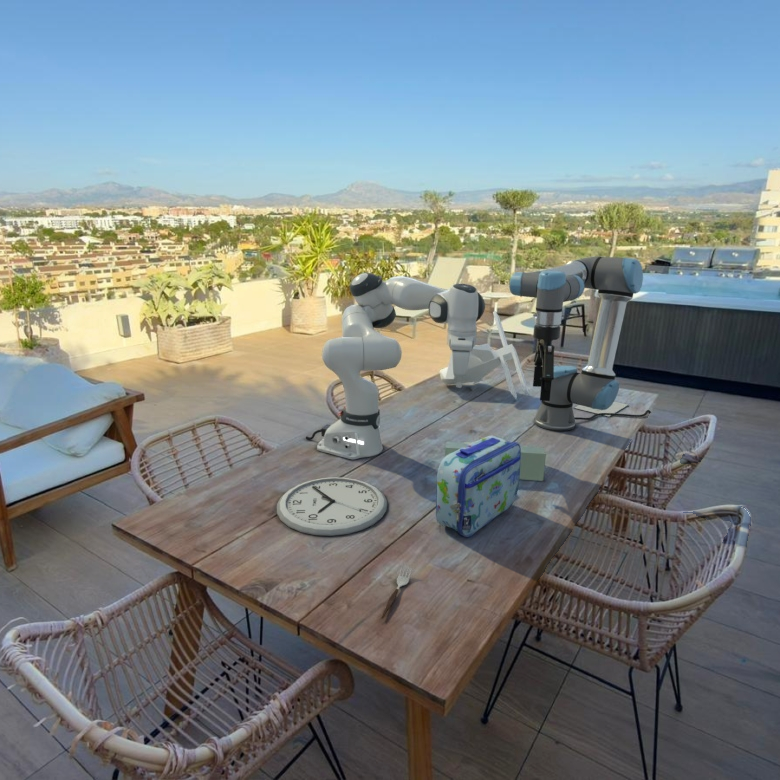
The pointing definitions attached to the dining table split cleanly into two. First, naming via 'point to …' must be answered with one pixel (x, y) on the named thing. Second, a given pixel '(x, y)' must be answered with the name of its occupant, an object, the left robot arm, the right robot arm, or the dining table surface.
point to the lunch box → (477, 484)
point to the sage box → (529, 462)
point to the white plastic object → (488, 363)
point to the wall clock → (331, 506)
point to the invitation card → (612, 409)
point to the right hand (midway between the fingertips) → (540, 393)
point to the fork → (401, 582)
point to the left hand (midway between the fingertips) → (458, 382)
